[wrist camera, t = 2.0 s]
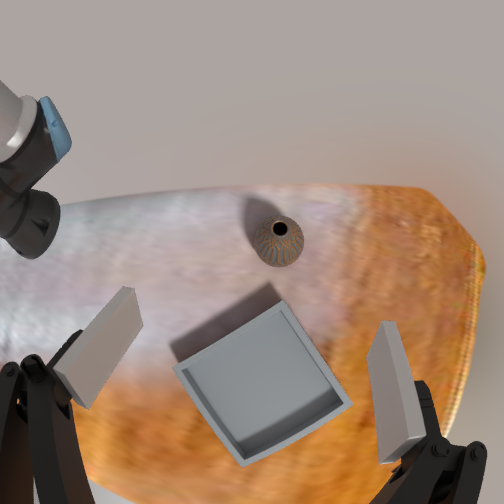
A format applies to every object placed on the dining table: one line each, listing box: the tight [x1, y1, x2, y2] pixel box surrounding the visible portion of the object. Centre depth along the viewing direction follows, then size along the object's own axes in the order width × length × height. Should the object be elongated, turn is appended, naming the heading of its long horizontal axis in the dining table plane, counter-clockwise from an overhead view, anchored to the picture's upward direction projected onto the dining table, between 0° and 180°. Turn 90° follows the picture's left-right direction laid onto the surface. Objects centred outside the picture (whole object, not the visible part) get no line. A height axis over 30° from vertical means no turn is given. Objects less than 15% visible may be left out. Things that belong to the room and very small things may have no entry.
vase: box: [254, 216, 304, 267], centre depth 38 cm, size 7×7×9 cm
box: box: [172, 300, 353, 467], centre depth 35 cm, size 18×18×4 cm
